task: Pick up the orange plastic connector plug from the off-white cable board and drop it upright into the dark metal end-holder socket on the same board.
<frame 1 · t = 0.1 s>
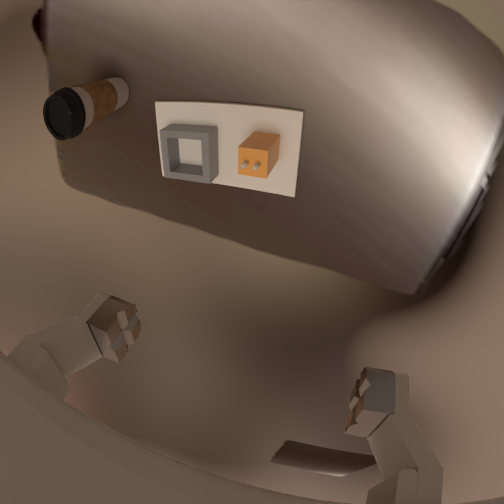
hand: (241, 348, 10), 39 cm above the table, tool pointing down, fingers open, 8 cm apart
cable board: (225, 143, 47), on the table
plug: (266, 145, 45), point 1 cm above the table, touching cable board
coffee cup: (117, 91, 46), on the table
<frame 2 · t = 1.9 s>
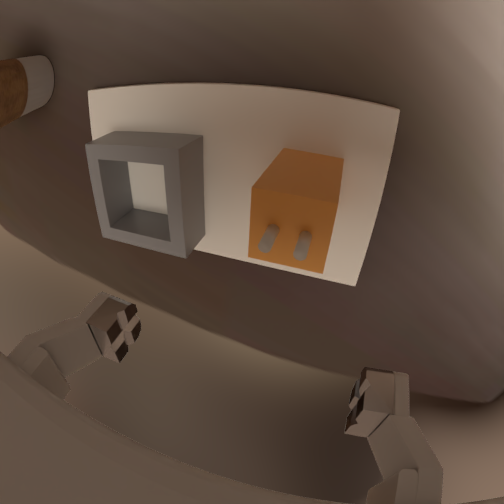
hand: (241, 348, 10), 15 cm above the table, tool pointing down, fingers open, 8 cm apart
cable board: (218, 173, 23), on the table
plug: (309, 180, 20), point 1 cm above the table, touching cable board
coffee cup: (40, 80, 23), on the table
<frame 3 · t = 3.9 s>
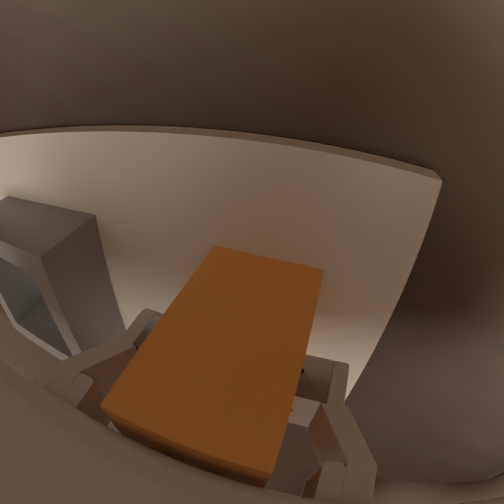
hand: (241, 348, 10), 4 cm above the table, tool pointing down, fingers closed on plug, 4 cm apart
cable board: (131, 264, 15), on the table
plug: (262, 299, 12), point 1 cm above the table, touching cable board, gripper
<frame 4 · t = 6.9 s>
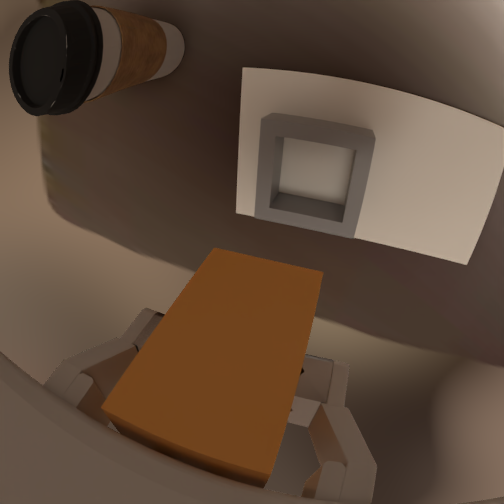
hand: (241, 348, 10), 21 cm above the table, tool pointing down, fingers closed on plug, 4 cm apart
cable board: (374, 164, 25), on the table
plug: (262, 301, 12), point 18 cm above the table, touching gripper
coffee cup: (159, 49, 24), on the table
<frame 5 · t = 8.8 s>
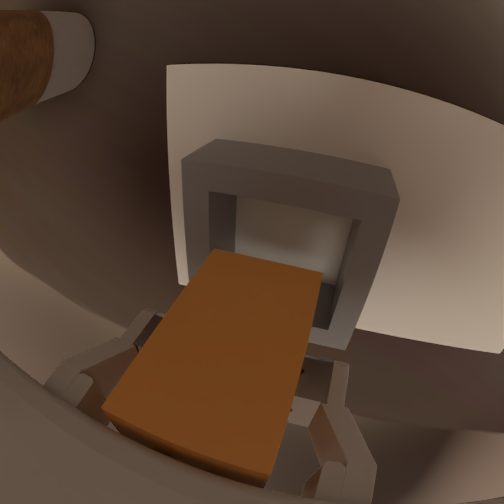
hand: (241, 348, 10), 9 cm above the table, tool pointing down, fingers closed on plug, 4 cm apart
cable board: (387, 223, 15), on the table
plug: (262, 301, 12), point 6 cm above the table, touching gripper
coffee cup: (68, 51, 15), on the table
when the fingers open (7 cm above the table, at t = 10.1 s): plug drops 3 cm, resting on cable board.
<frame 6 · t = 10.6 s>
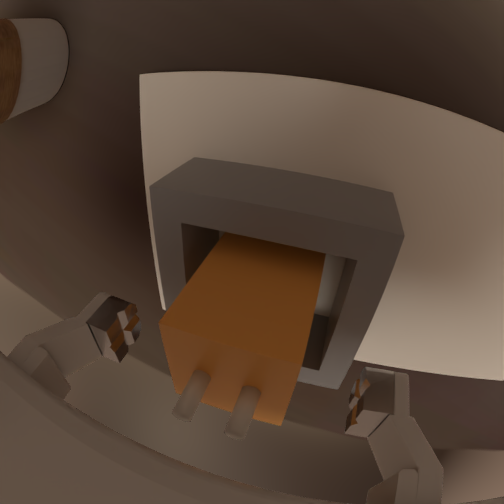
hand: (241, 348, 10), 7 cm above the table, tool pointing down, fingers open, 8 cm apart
cable board: (388, 250, 14), on the table
plug: (279, 258, 14), point 1 cm above the table, touching cable board
coffee cup: (44, 60, 13), on the table
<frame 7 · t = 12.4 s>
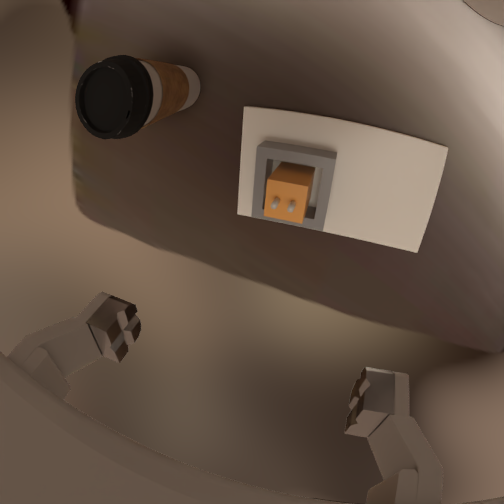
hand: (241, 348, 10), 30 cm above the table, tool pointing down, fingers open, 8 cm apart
cable board: (339, 177, 35), on the table
plug: (296, 180, 36), point 1 cm above the table, touching cable board
coffee cup: (180, 87, 35), on the table
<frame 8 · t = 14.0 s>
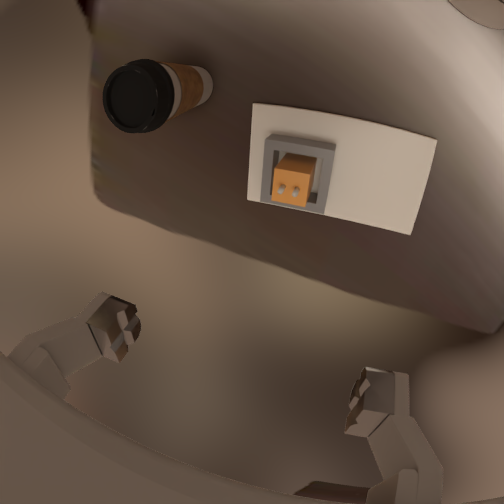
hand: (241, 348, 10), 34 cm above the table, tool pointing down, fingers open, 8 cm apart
cable board: (338, 166, 39), on the table
plug: (300, 169, 40), point 1 cm above the table, touching cable board
coffee cup: (194, 85, 38), on the table
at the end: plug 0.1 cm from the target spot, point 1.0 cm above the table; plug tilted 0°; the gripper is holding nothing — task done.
